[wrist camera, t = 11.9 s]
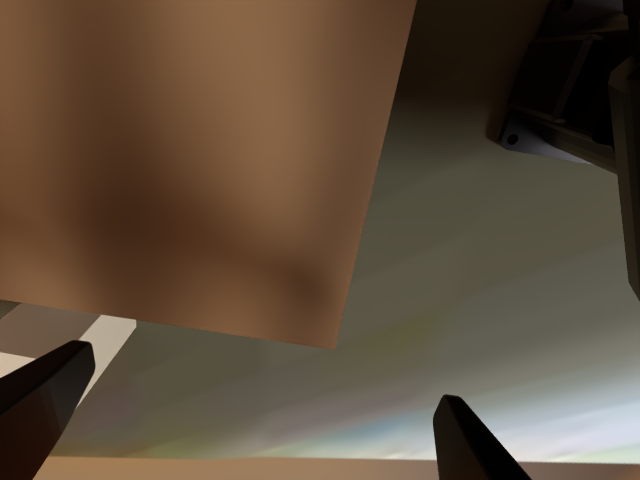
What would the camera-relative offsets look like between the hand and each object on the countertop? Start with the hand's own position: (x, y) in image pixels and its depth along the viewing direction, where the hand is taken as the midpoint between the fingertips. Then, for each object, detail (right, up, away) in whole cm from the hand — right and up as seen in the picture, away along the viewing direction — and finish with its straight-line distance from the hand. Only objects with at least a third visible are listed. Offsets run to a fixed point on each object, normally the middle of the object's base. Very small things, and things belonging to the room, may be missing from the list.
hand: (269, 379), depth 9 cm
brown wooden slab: (-4, +10, +9) cm, 14 cm away
